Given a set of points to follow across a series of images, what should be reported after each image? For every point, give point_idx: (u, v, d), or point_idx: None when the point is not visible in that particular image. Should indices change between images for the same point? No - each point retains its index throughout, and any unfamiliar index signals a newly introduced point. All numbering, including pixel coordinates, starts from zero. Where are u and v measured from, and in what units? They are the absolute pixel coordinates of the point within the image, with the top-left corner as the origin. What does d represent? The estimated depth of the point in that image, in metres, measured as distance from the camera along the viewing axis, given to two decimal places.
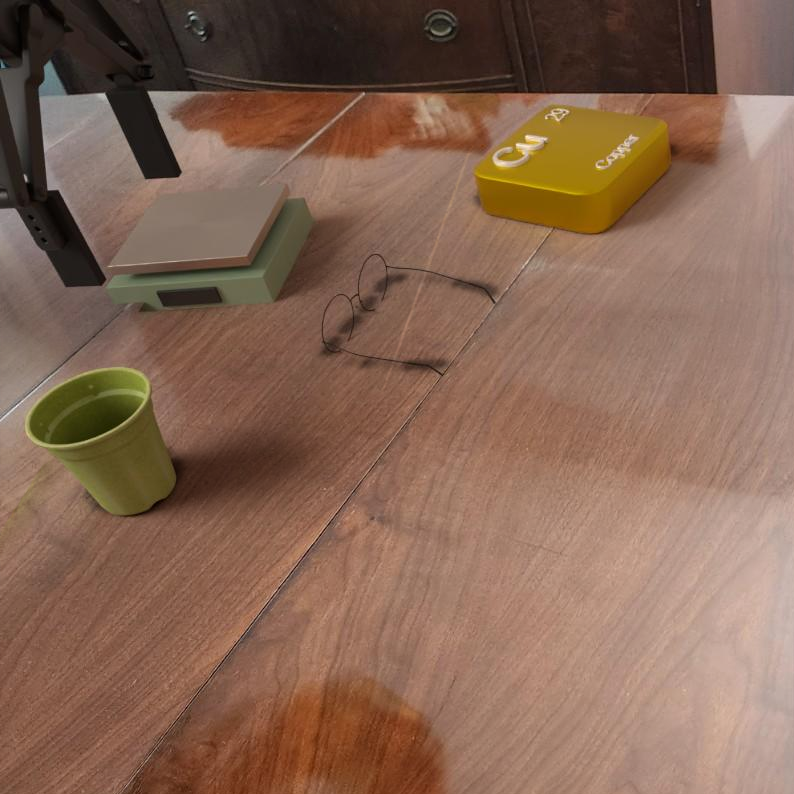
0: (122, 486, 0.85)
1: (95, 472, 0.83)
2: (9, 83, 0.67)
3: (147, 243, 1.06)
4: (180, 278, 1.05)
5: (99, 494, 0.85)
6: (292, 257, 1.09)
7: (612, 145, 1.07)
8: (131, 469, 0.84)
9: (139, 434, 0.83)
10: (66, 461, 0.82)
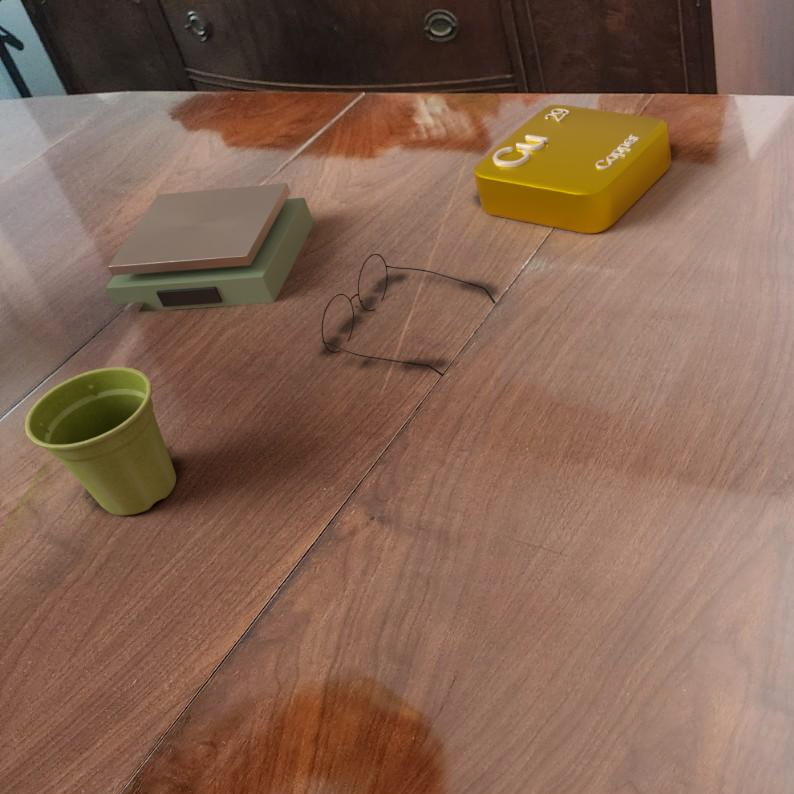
0: (122, 486, 0.85)
1: (95, 472, 0.83)
2: None
3: (147, 243, 1.06)
4: (180, 278, 1.05)
5: (99, 494, 0.85)
6: (292, 257, 1.09)
7: (612, 145, 1.07)
8: (131, 469, 0.84)
9: (139, 434, 0.83)
10: (66, 461, 0.82)
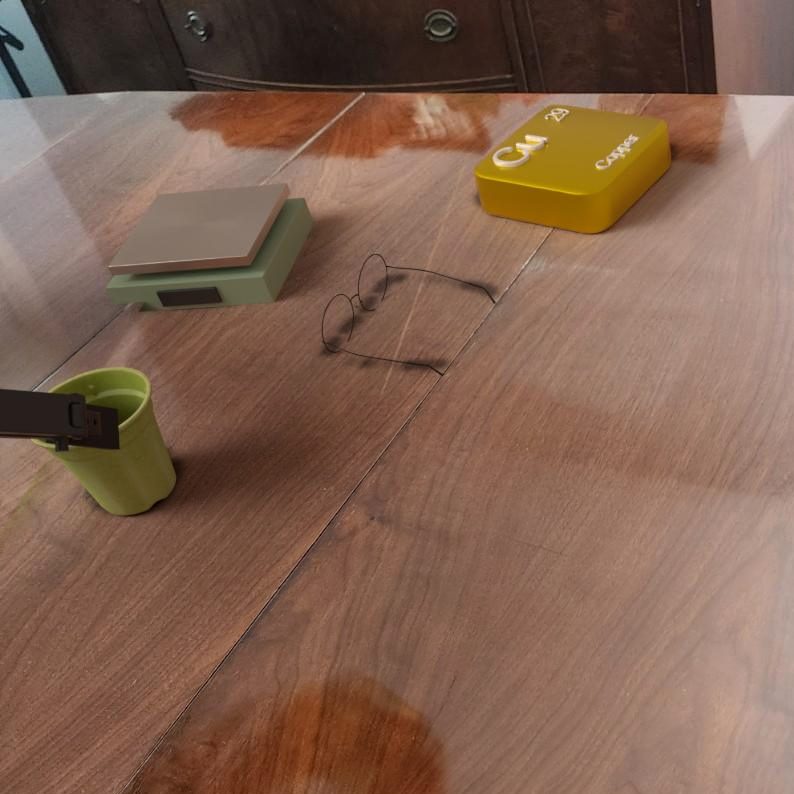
0: (122, 486, 0.85)
1: (95, 472, 0.83)
2: None
3: (147, 243, 1.06)
4: (180, 278, 1.05)
5: (99, 494, 0.85)
6: (292, 257, 1.09)
7: (612, 145, 1.07)
8: (131, 469, 0.84)
9: (139, 434, 0.83)
10: (66, 461, 0.82)
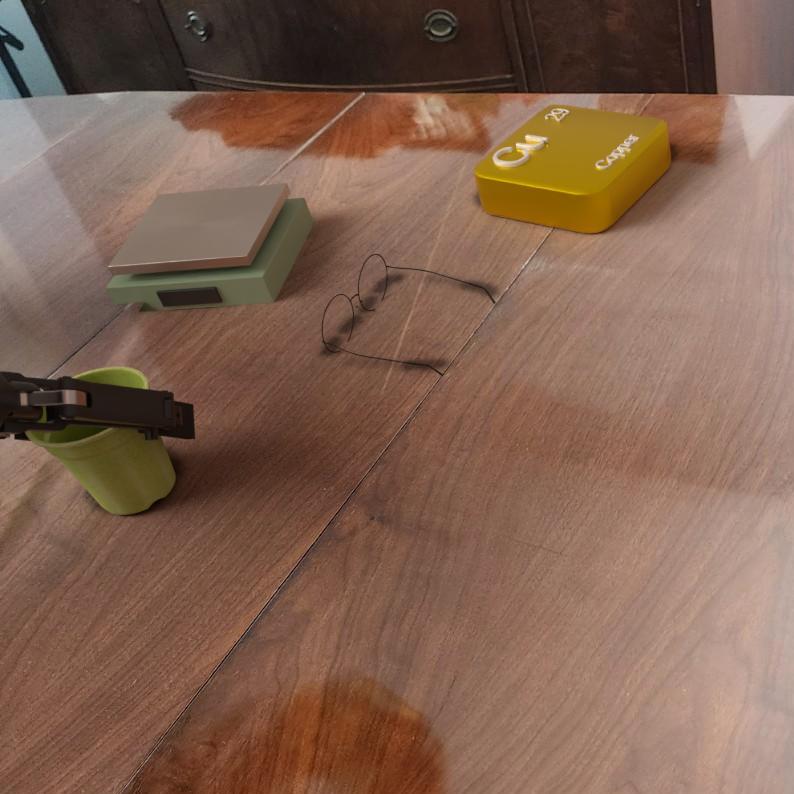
0: (121, 485, 0.85)
1: (93, 471, 0.83)
2: None
3: (147, 243, 1.06)
4: (180, 278, 1.05)
5: (99, 493, 0.85)
6: (292, 257, 1.09)
7: (612, 145, 1.07)
8: (129, 467, 0.84)
9: (137, 433, 0.83)
10: (65, 460, 0.82)
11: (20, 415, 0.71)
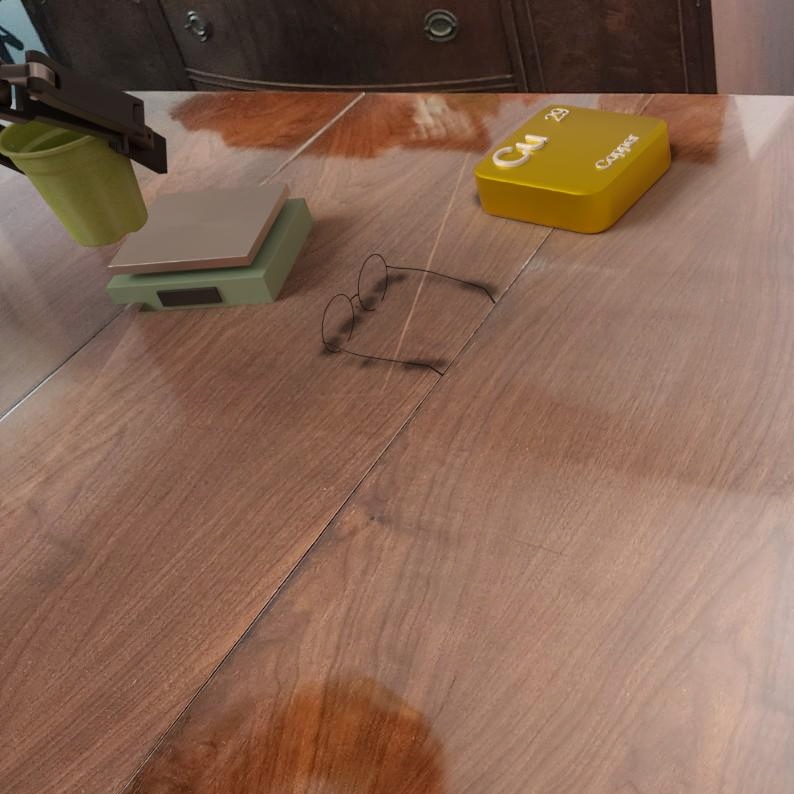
0: (92, 209, 0.85)
1: (64, 190, 0.84)
2: None
3: (147, 243, 1.06)
4: (180, 278, 1.05)
5: (70, 219, 0.86)
6: (292, 257, 1.09)
7: (612, 145, 1.07)
8: (100, 189, 0.84)
9: (109, 153, 0.84)
10: (36, 177, 0.83)
11: None
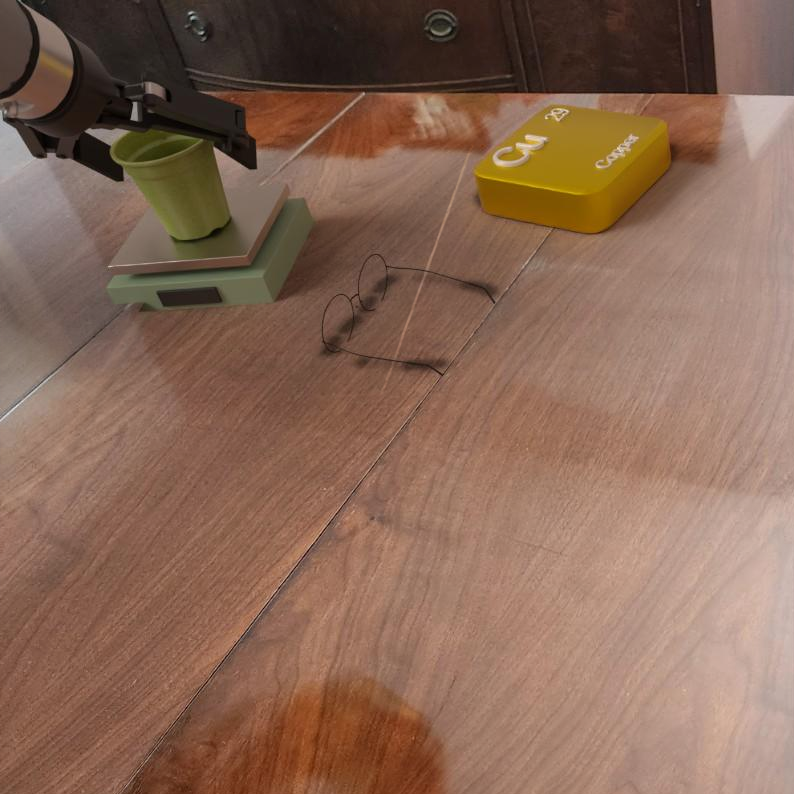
0: (188, 208, 1.02)
1: (166, 192, 1.01)
2: None
3: (147, 243, 1.06)
4: (180, 278, 1.05)
5: (169, 217, 1.03)
6: (292, 257, 1.09)
7: (612, 145, 1.07)
8: (196, 192, 1.02)
9: (203, 162, 1.01)
10: (143, 182, 1.00)
11: (117, 105, 0.89)
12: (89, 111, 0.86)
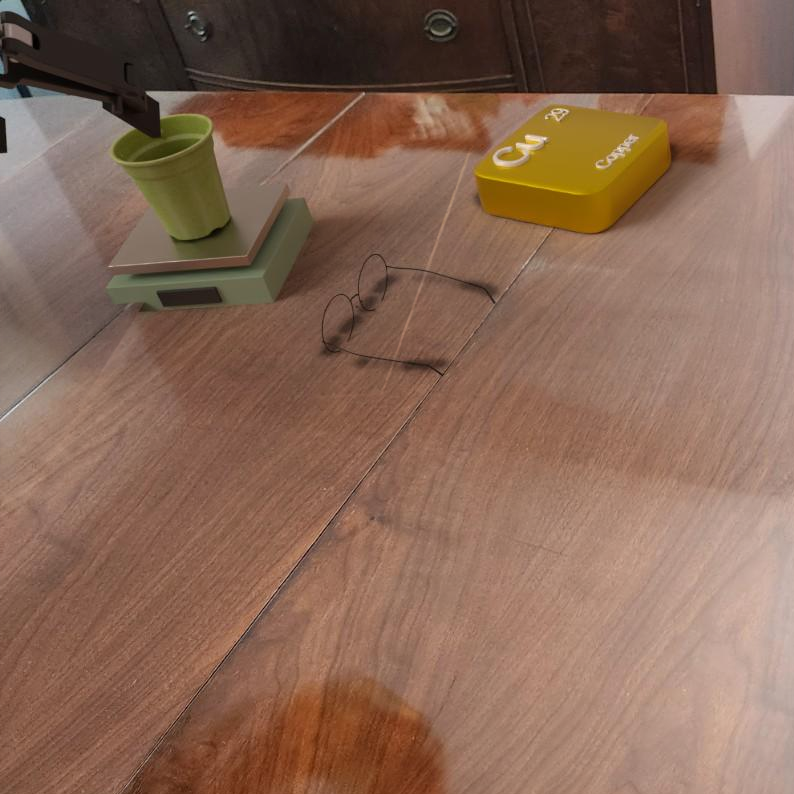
0: (188, 208, 1.02)
1: (166, 192, 1.01)
2: None
3: (147, 243, 1.06)
4: (180, 278, 1.05)
5: (169, 217, 1.03)
6: (292, 257, 1.09)
7: (612, 145, 1.07)
8: (196, 192, 1.02)
9: (203, 162, 1.01)
10: (143, 182, 1.00)
11: None
12: None
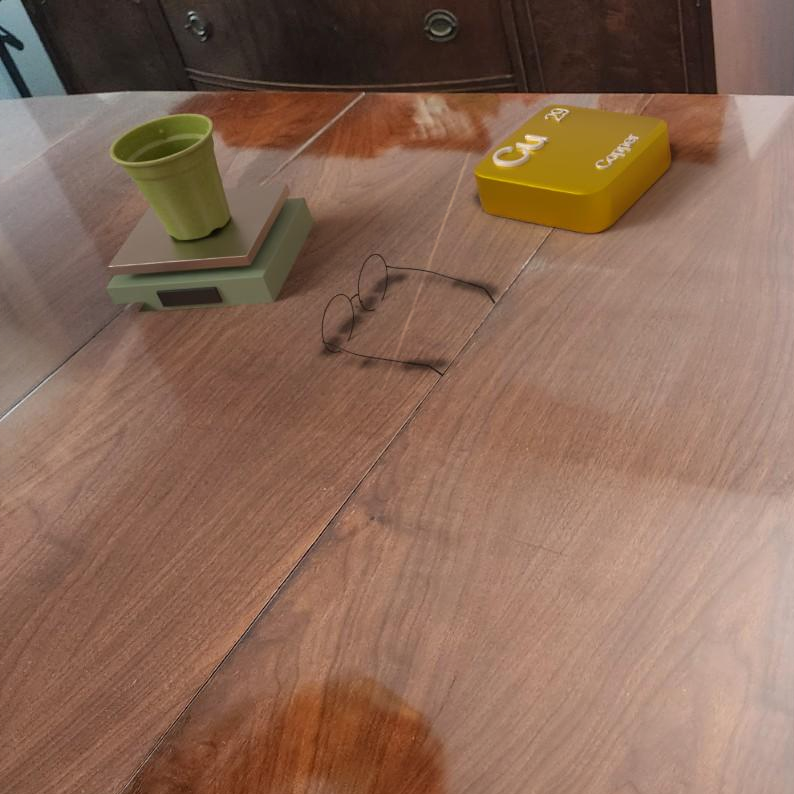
0: (188, 208, 1.02)
1: (166, 192, 1.01)
2: None
3: (147, 243, 1.06)
4: (180, 278, 1.05)
5: (169, 217, 1.03)
6: (292, 257, 1.09)
7: (612, 145, 1.07)
8: (196, 192, 1.02)
9: (203, 162, 1.01)
10: (143, 182, 1.00)
11: None
12: None
